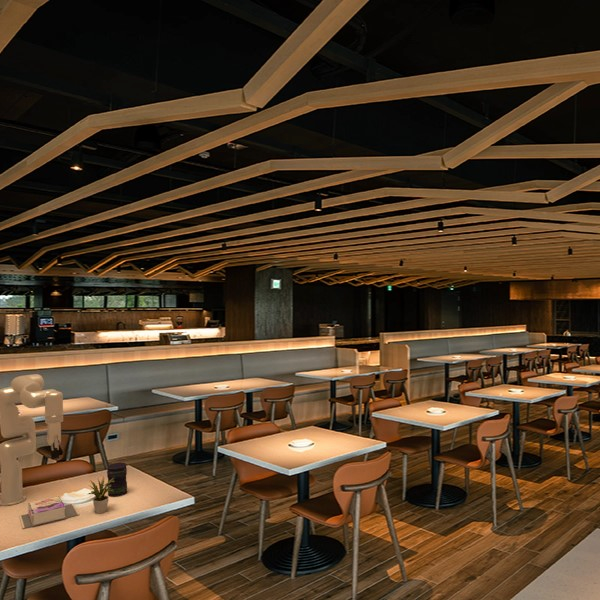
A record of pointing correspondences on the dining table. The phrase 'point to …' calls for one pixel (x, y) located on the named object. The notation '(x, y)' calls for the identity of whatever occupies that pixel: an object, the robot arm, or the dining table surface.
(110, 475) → the rusty oil drum
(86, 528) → the dining table surface
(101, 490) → the house plant
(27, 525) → the mat
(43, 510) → the candy box
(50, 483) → the dining table surface
